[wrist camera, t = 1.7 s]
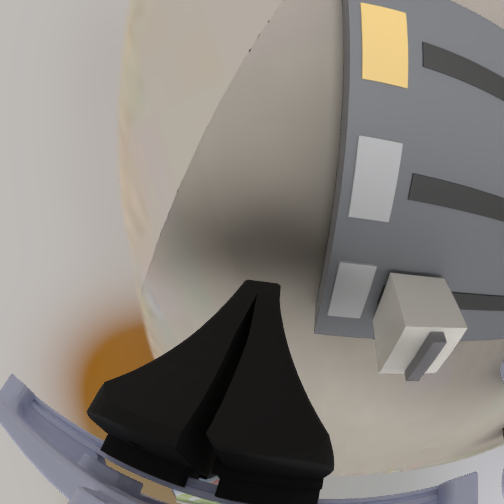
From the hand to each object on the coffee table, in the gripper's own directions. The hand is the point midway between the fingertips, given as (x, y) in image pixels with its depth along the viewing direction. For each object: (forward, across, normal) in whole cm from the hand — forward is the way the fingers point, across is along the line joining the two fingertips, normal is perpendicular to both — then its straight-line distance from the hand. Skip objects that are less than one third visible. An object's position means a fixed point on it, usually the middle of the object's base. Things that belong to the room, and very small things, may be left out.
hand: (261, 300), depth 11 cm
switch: (+1, -6, 0) cm, 7 cm away
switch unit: (+3, -10, -5) cm, 12 cm away
